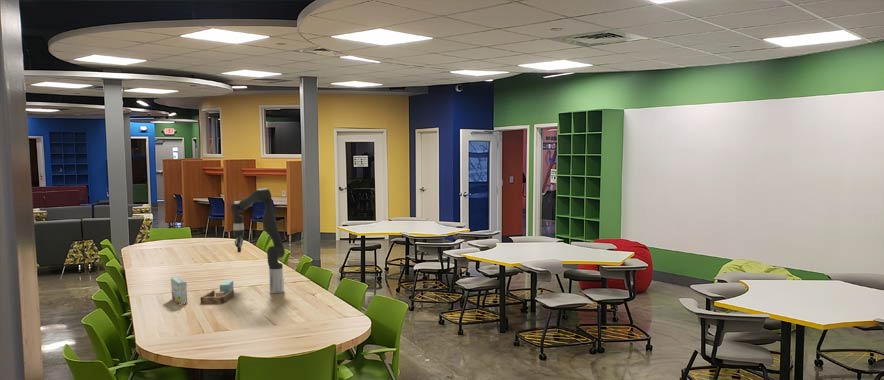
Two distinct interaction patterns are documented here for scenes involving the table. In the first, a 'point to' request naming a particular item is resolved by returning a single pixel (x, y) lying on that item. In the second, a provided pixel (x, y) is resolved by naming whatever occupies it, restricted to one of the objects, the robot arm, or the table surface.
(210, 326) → the table surface
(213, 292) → the brown u-shaped block
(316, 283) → the table surface
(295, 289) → the table surface
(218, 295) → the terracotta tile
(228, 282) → the block
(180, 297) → the snack box
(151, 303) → the table surface
